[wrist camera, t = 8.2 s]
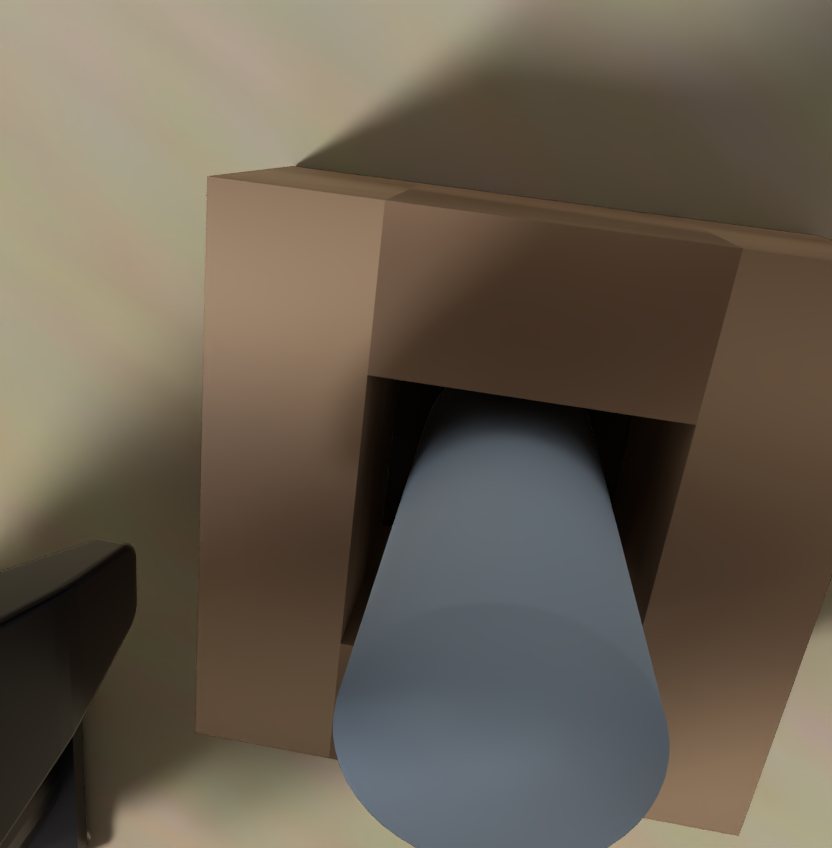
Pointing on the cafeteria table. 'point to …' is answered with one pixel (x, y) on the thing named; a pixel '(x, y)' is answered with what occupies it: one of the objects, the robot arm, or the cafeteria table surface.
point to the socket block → (521, 378)
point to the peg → (503, 644)
